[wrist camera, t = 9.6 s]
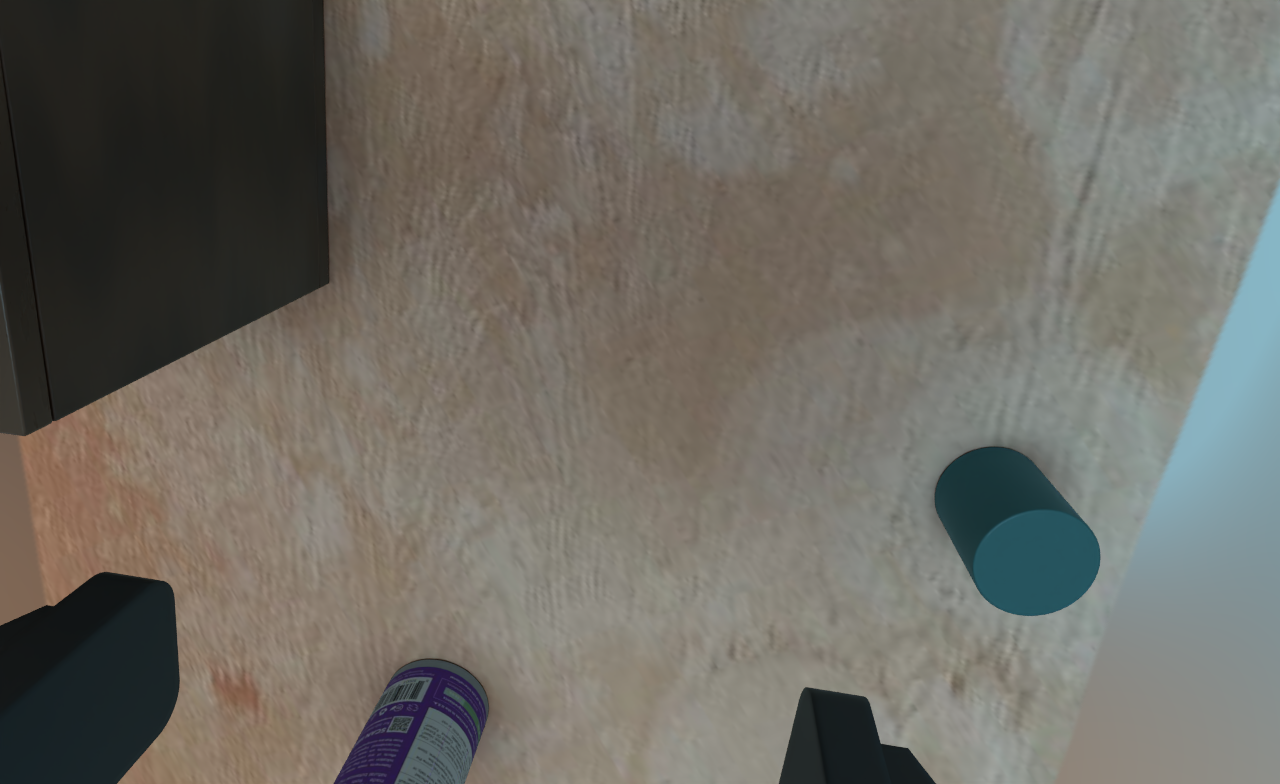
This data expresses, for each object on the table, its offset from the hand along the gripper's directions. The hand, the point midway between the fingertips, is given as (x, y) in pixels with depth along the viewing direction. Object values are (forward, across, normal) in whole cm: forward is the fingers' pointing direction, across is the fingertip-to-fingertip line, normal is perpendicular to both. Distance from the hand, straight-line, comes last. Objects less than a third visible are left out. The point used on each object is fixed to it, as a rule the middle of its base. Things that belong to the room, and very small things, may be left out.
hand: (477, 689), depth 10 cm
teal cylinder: (+21, -14, +5) cm, 26 cm away
